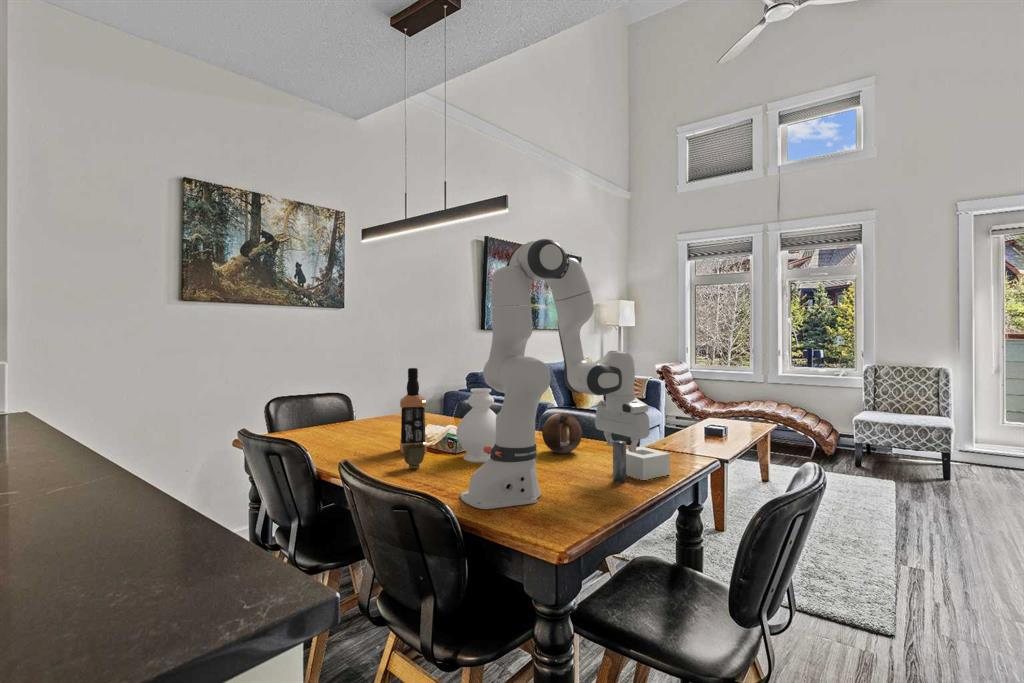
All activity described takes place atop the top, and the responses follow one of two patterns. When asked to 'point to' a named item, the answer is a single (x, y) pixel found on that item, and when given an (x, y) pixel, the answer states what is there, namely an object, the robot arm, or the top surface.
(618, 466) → the steel pin
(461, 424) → the decorative vase
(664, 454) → the block
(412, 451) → the cup
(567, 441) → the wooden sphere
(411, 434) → the whiskey bottle
